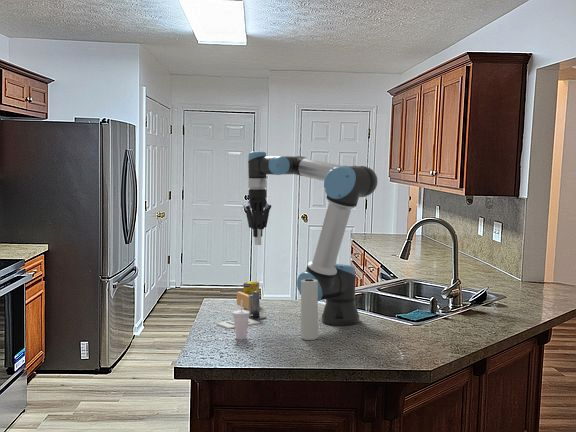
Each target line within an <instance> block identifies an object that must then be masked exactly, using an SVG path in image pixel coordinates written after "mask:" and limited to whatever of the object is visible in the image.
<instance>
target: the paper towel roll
mask: <svg viewBox="0 0 576 432" xmlns="http://www.w3.org/2000/svg"><path fill="white" fill-rule="evenodd" d="M318 303H319V301H318V281H317V280H315V279H309V278H308V279H304V280H301V295H300V337H301V338H300V339H302V340H306V341H314V340H318V335H319V334H318V333H319V331H318V330H319V329H318V327H319V326H318V322H319V321H318V320H319V319H318V318H319V317H318V316H319V313H318V312H319V310H318V309H319V308H318V307H319V304H318Z"/></svg>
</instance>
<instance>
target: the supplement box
mask: <svg viewBox="0 0 576 432" xmlns="http://www.w3.org/2000/svg"><path fill="white" fill-rule="evenodd" d="M242 286H243V288H242V289H243V293H245V294H247V295H253V291H259V292H260V281H250V280H249V281H247V280H246V282H244V283H243V285H242Z"/></svg>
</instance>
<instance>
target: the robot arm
mask: <svg viewBox="0 0 576 432" xmlns="http://www.w3.org/2000/svg"><path fill="white" fill-rule="evenodd" d="M247 160H248V161H247V165H248V166H247V168H248V171H247V172H248V180H247V181H248V185H247V186H248V188H249V189H248V202H247V204H246V205H244V206H243V209H244V211H245V215H246V219H247V224H248V228H249V229H251V230H252V234H253V235H252V236H253V238H254V246H255V245H256V246H262V237H263V230H264V229H265V228H267V225H268V220H269V217H270V215H269V214H270V211H271V208H272V204H269V203H268V202H267V189H266V188H267V175H275V176H280V175H294V176H295V175H297V176H300V177H305V178H310V179H313V180H318V181H323V188H324V192H325V194H326V198H325V199H326V200H327V202H328V205H327V209H326V212H325V215H324V216H325V217H324V220H323V223H322V226H321V230H320V235H319V238H318V242H317V244H316V248H315V252H314V255H313V259H312V260H310V261H309V262H307V266H306V268H305V271H302V272H301V273H300V274H299V275H298V277H297V280H296V287H297V290H298V292H299V295H300V296H301V280H304V279H308V278H309V279H315V280H317V281H318V302H319V301H322V300H325V305H324V308H323V311H322V314H321V322H322V323H323V324H325V325H333V326H351V325H352V326H353V325H356V324H359V322H360V313H359V311H358V308H357V304H356V269H355V267H354V266H353V265H349V264H341V263H337V260H338V255H339V253H340V249H341V246H342V243H343V239H344V235H345V232H346V229H347V225H348V222H349V218H350V216H351V211H352V210H353V209H354V208H356V207H357V206H358V202H359V199H360V198H364V197H368V196H370V195H372V193H374V192H375V190H376V189H377V187H378V176H377V174H376V172H375V171H374V170H373V168H370V167H368V166H364V165H360V166H359V165H341V164H336V163H331V162H325V161H321V160H316V159H311V158H307V157H306V156H300V155H297V156H291V155H290V156H289V155H287V156H285V155H284V156H283V155H274V156H272V155H270V156H268V155H267V152H266V151H250V152H249V153H248V159H247Z"/></svg>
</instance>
